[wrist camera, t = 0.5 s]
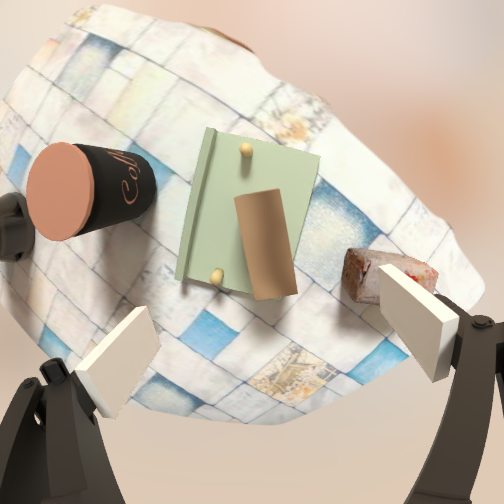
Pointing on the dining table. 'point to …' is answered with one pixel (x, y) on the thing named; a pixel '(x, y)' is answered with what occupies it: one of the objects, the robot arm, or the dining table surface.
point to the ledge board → (223, 207)
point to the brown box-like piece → (266, 244)
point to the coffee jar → (86, 189)
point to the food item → (367, 274)
